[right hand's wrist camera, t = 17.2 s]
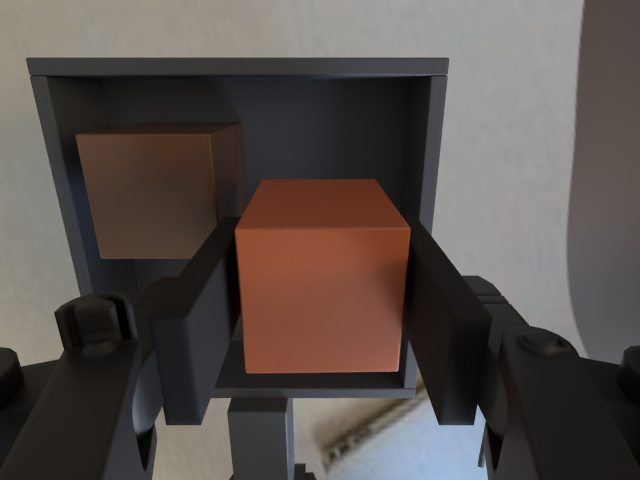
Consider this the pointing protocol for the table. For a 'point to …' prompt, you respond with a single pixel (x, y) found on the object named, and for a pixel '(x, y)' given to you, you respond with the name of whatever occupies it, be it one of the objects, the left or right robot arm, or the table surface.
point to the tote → (255, 184)
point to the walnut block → (162, 185)
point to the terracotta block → (321, 277)
